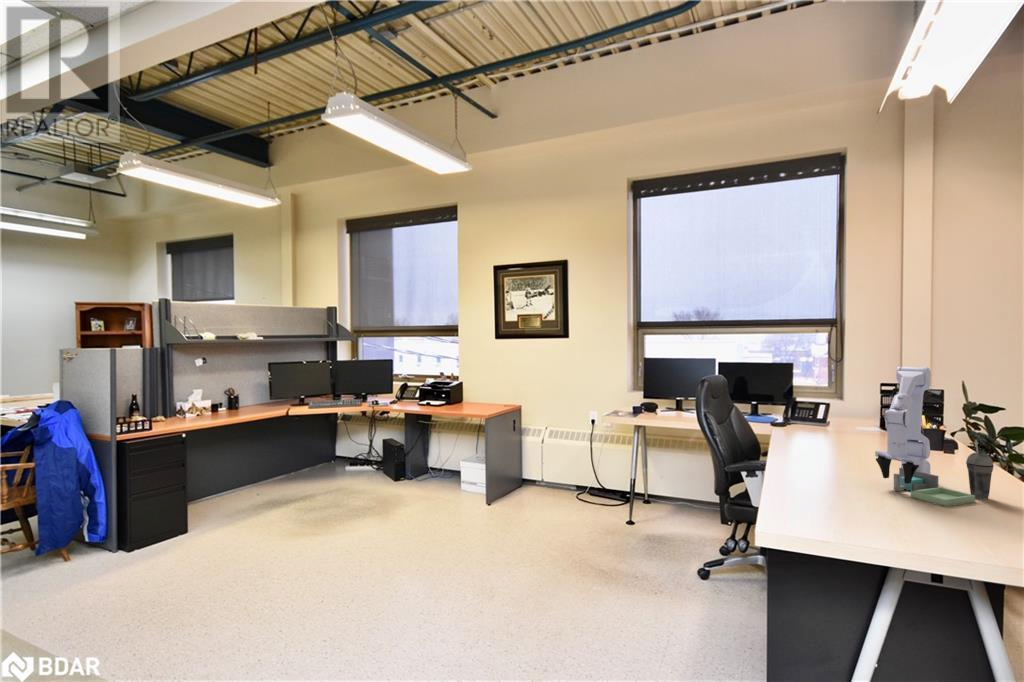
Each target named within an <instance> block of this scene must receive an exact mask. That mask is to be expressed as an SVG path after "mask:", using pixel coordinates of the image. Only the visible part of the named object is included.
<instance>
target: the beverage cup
mask: <svg viewBox="0 0 1024 682" xmlns="http://www.w3.org/2000/svg"><path fill="white" fill-rule="evenodd" d="M974 443H975V451H976V452H973V453H970V454H969V455H968V456H967V458H966V462H965V465H966V468H967V472H968V481H969V482H968V484H969V493H970V494H971V495H975V499H976V498H978V500H983V499H987V500H989V497H990V490H991V482H992V475H993V474H992V473H993V471H994V466H995V465H994V461H993V459H992V458H991V457H990V456H989V455H988V454H987V453H984V452H979V446H978V439H974Z"/></svg>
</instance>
